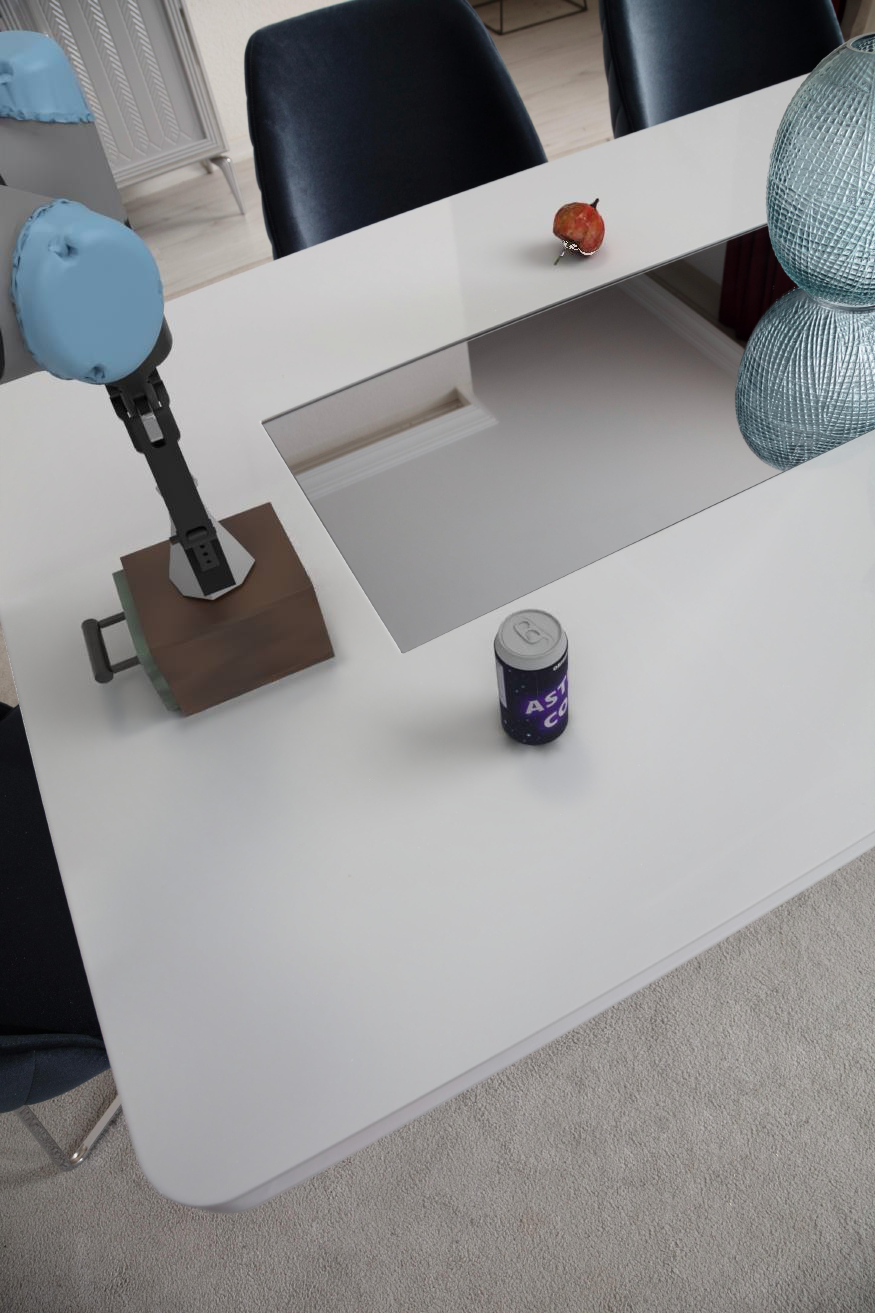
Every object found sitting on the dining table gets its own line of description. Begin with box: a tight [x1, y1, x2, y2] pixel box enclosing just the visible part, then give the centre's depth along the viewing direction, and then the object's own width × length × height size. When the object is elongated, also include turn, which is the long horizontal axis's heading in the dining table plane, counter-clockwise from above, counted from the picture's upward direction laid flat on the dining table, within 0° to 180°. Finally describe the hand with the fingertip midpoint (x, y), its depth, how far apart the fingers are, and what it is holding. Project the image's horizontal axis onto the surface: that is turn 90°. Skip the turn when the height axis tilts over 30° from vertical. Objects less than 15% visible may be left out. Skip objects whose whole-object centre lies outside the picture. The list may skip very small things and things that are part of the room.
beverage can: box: [493, 608, 569, 746], centre depth 75 cm, size 6×6×12 cm
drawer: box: [80, 568, 181, 713], centre depth 85 cm, size 18×11×8 cm, turn 114°
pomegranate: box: [552, 197, 606, 266], centre depth 126 cm, size 7×7×10 cm
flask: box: [155, 473, 255, 600], centre depth 78 cm, size 7×7×10 cm
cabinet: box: [119, 501, 336, 718], centre depth 85 cm, size 15×13×10 cm
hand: (198, 537), depth 79 cm, fingers open, 13 cm apart
